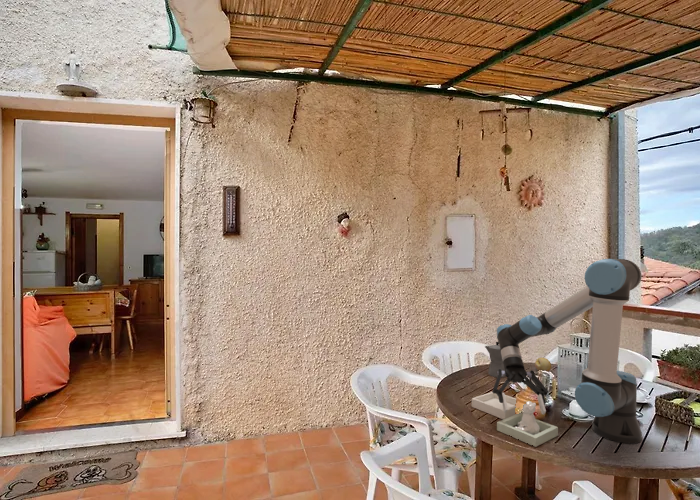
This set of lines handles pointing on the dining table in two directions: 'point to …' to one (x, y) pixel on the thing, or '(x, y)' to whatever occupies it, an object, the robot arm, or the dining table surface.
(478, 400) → the tray
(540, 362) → the fruit
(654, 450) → the dining table surface
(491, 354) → the coffeepot
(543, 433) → the holder
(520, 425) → the sitting furry creature
